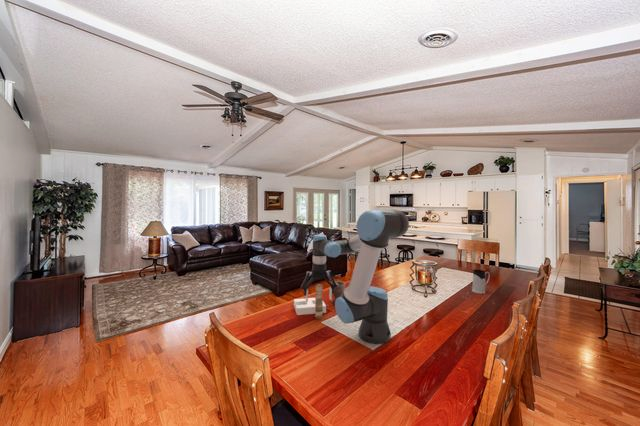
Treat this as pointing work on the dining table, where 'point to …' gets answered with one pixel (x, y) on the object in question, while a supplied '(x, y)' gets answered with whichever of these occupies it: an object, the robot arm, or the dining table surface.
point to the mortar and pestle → (337, 289)
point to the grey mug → (479, 281)
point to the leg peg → (318, 301)
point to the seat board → (306, 306)
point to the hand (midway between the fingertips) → (318, 300)
